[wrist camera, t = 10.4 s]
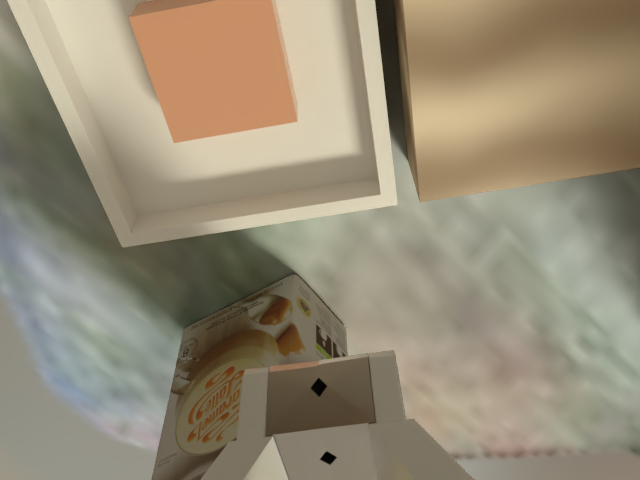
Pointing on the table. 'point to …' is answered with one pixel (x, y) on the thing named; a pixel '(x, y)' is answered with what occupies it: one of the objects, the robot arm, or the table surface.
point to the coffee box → (237, 368)
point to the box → (223, 150)
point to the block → (517, 91)
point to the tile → (216, 65)
